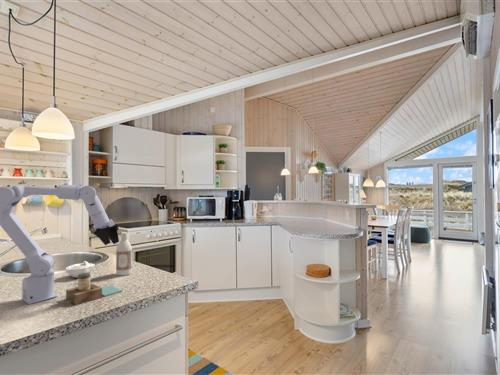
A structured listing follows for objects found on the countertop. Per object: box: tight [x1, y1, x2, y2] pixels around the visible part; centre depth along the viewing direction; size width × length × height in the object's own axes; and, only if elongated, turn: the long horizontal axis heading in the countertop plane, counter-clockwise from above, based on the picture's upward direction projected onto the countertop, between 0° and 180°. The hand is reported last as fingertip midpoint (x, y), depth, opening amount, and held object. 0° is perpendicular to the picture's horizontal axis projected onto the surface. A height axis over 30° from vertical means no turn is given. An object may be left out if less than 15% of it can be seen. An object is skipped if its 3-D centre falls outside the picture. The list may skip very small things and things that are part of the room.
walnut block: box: [65, 282, 103, 306], centre depth 108 cm, size 9×9×4 cm
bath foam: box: [115, 231, 133, 277], centre depth 140 cm, size 7×7×20 cm
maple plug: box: [77, 272, 91, 292], centre depth 108 cm, size 4×4×9 cm
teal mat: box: [101, 285, 123, 298], centre depth 115 cm, size 7×9×1 cm
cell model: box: [65, 260, 96, 278], centre depth 135 cm, size 10×12×7 cm
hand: (112, 243), depth 119 cm, fingers open, 7 cm apart
